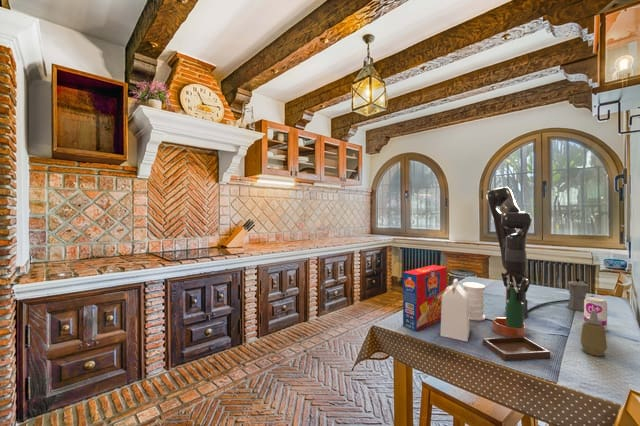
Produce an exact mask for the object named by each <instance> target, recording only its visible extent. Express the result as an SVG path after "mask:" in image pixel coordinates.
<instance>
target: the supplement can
mask: <svg viewBox="0 0 640 426" xmlns="http://www.w3.org/2000/svg"><path fill="white" fill-rule="evenodd" d="M585 297H586V298H585V300H584V311H583V323H584V322H587V321H586V318H587V317H590V315H591V312H592V310H596V312H597V316H598V319H600V320H602V324H601V325H603V326H604V327H605V331H607V330H608V302H607V301H606V299H604V298H601V297H597V296H596V297H595V296H594V297H589V296H585Z"/></svg>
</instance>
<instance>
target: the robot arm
mask: <svg viewBox="0 0 640 426" xmlns="http://www.w3.org/2000/svg"><path fill="white" fill-rule="evenodd" d="M486 200H487V204H488V207H489V209H490V210H489V211H490V213H491V216H492V221H493V225H494V230H495V234H496V238H497V241H498V245H499V249H500V256H501V257H500V258H501V263H502V267H503V269H504V271H505V272H501V273H500V275H501V279H502V283H503V286H504V287H505V302H506V301H507V300H508V299H509V298H510V287H515V289H516V301H517V302H521V301H522V302H523V304H524V306H523V319H526V318H528V313H529V312H531V311H532V310H534V309H536V308H538V307H541V306H545V305H549V304H555V303H556V304H557V303H563V302H569V299H561V300H560V299H559V300H553V301H548V302H547V301H546V302H544V303H543V302H542V303H540V304H537V305H534V306H533V307H530V308H529V309H528V303H529V302H528V299H527V292H528V291H529V287H530V285H531V282H532V281H531V279H528V278H527V277H528V259H527V250H526V249H527V237H528V233H529V230H530V227H531V225H532V220H533V219H532V216H531V215H530V213H528V212H525V211H521V210H520V208H519V207H518V205H517V203H516V200H515V198H514V194H513V192H512V189H510V188H509V187H508V186H503V187H497V188H494V189H490V190H488V191H486ZM498 207H499V209H498ZM517 230H518V231H517ZM519 288H520V289H519ZM586 297H587V296H585V298H586ZM588 297H595V296H594V295H590V296H588ZM504 310H506V306H505V308H504Z"/></svg>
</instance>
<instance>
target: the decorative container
mask: <svg viewBox="0 0 640 426" xmlns="http://www.w3.org/2000/svg"><path fill="white" fill-rule="evenodd" d="M462 288H463V290H465V291H466V293H467V294H468V302H469V320H471V321H484V320H486V315H485V314H484V313H485V310H484V307H485V304H484V300H485V298H484V295H485V291H484V290H485V289H486V286H485V285H484V284H483V283H478V282H472V281H471V282H470V281H469V282H467V281H466V282H463V283H462Z"/></svg>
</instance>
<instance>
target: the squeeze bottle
mask: <svg viewBox="0 0 640 426" xmlns="http://www.w3.org/2000/svg"><path fill="white" fill-rule="evenodd" d="M586 321H587V322H584V321H583V322H582V328H581V334H580V344H581V347H582V349H583V351H584V352H585V353H586V354H589V355H592V356H595V357H604V354H605V353H606V351H607V348H608V343H607V334H606V330H605V327H604V326H603V325H601V324H602V320H600V319H598V316H597V312H596V310H592V312H591V315H590V317H587V318H586Z"/></svg>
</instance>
